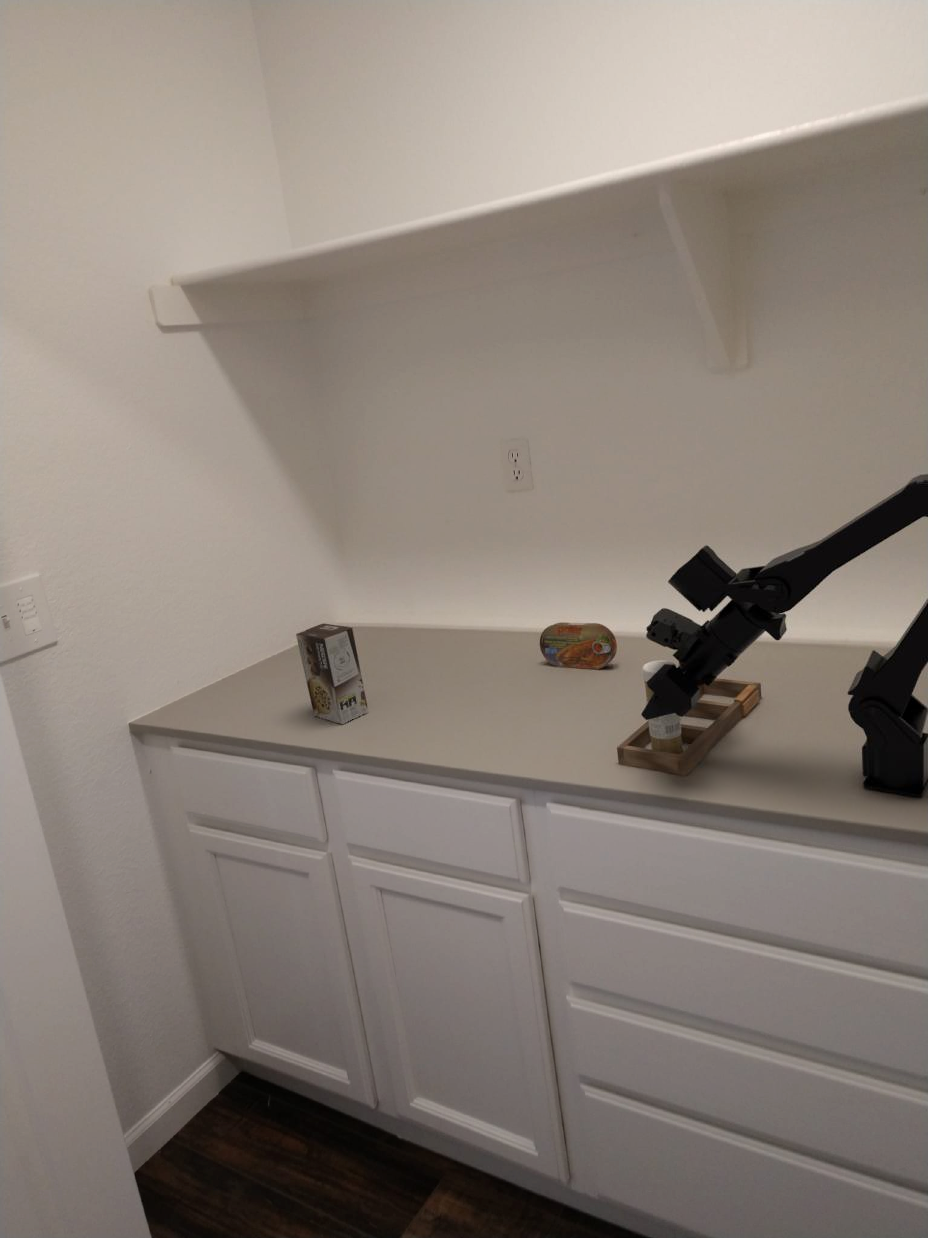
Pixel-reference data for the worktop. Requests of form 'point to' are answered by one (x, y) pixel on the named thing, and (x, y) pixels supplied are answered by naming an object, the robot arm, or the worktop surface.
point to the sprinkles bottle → (662, 718)
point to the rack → (694, 729)
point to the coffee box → (332, 672)
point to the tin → (578, 645)
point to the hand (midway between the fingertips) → (653, 706)
